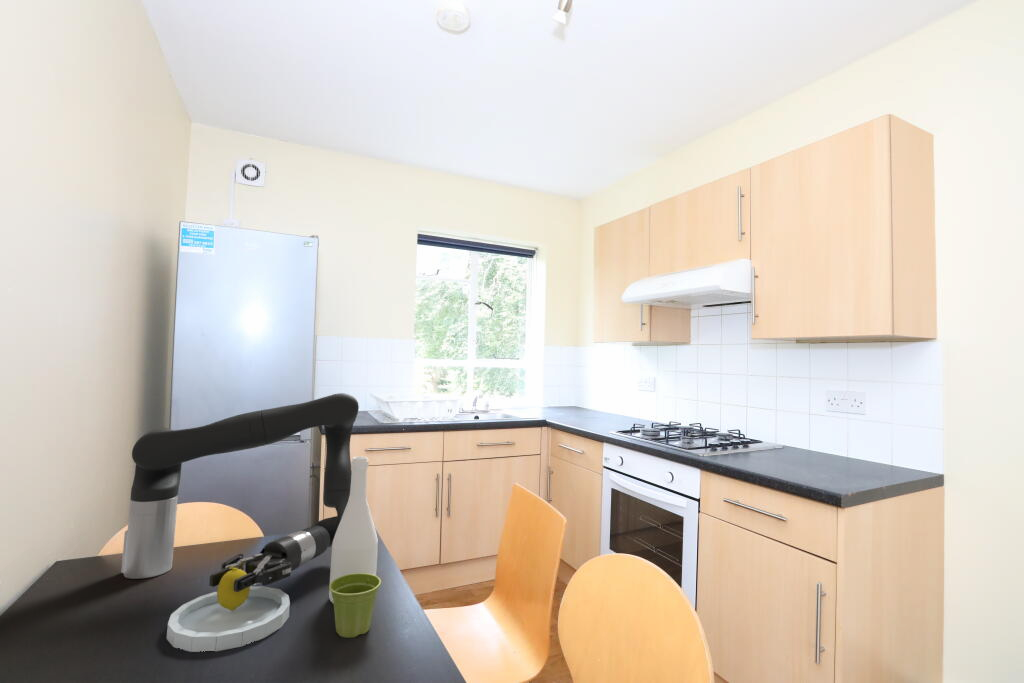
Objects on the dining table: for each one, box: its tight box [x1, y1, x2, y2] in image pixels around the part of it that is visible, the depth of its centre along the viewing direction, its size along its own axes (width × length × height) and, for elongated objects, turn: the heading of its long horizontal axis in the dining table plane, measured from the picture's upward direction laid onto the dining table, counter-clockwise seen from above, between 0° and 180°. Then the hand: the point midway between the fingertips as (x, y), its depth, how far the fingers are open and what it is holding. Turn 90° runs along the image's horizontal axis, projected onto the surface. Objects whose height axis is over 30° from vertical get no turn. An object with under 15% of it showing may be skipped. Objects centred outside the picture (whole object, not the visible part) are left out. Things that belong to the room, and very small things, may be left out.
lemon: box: [216, 568, 250, 611], centre depth 94 cm, size 6×6×8 cm
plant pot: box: [328, 573, 382, 639], centre depth 93 cm, size 9×9×9 cm
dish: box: [166, 585, 291, 653], centre depth 93 cm, size 20×20×2 cm
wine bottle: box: [328, 456, 379, 605], centre depth 106 cm, size 10×10×30 cm
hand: (223, 583), depth 92 cm, fingers closed on lemon, 5 cm apart
